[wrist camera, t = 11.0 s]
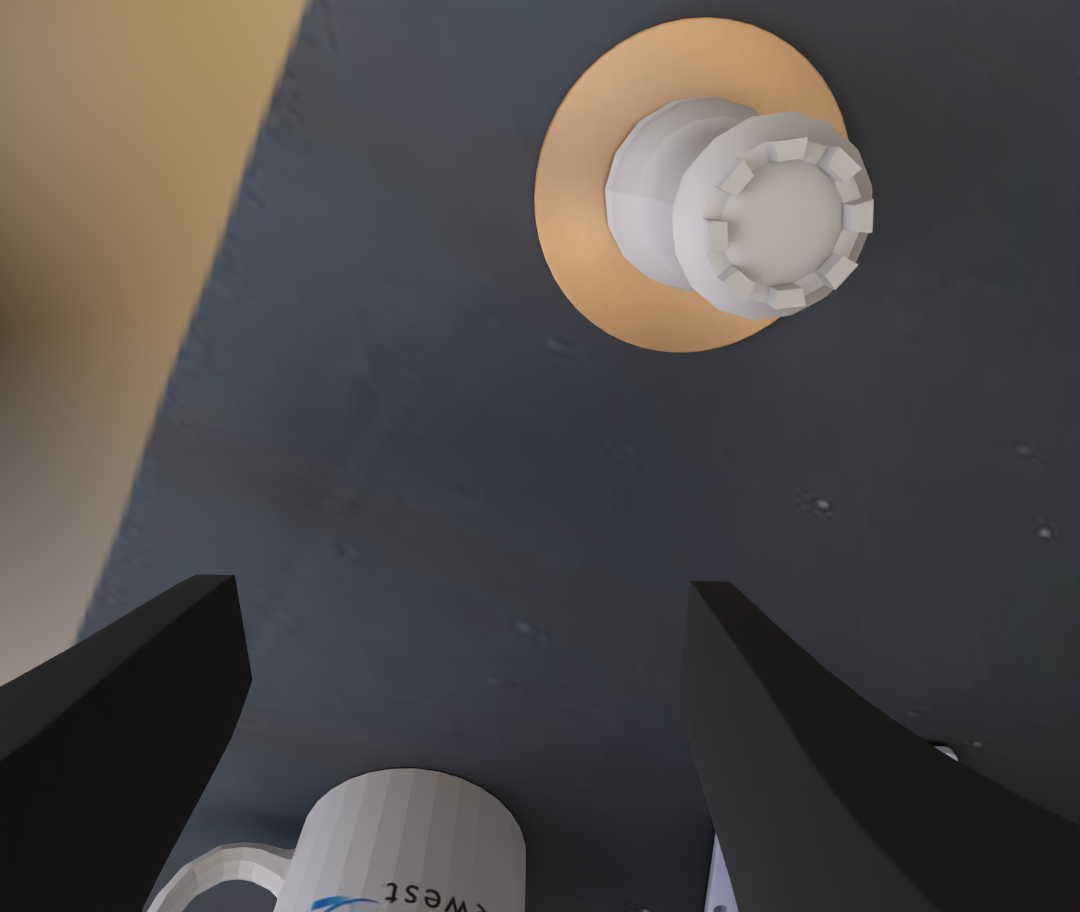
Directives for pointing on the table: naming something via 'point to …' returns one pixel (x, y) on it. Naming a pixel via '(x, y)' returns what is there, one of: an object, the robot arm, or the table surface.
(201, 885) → the mug
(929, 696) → the table surface
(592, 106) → the coaster
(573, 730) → the table surface
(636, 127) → the rook chess piece
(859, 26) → the table surface
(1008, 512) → the table surface
